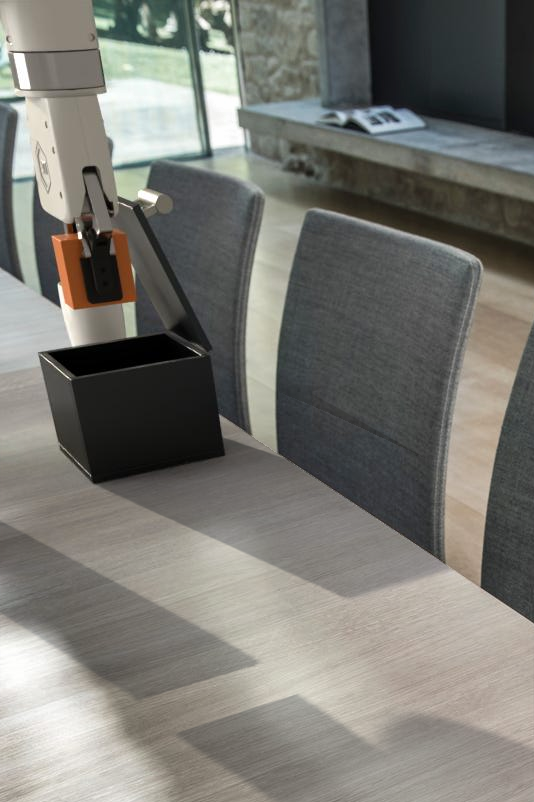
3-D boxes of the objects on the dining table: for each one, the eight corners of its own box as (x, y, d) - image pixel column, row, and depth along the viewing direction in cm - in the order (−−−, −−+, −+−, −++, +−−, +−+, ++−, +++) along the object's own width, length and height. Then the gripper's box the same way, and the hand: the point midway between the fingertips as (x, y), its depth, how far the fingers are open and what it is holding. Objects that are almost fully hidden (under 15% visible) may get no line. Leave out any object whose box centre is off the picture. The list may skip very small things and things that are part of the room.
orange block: (73, 310, 106) (60, 241, 103) (65, 303, 109) (51, 235, 105) (137, 301, 109) (126, 233, 106) (127, 294, 111) (116, 228, 108)
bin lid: (131, 207, 109) (174, 184, 111) (93, 192, 119) (133, 170, 120) (206, 352, 120) (245, 330, 121) (165, 328, 129) (201, 307, 130)
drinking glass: (111, 398, 144) (86, 273, 136) (152, 405, 141) (129, 277, 133) (71, 414, 139) (43, 285, 131) (114, 421, 136) (88, 290, 128)
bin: (93, 483, 119) (70, 379, 114) (60, 450, 128) (37, 352, 123) (225, 455, 126) (210, 355, 120) (185, 424, 135) (169, 330, 129)
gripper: (-8, 72, 103) (38, 286, 113) (37, 83, 91) (83, 321, 101) (77, 68, 106) (114, 277, 116) (130, 78, 94) (166, 309, 104)
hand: (99, 295), depth 108 cm, fingers closed on orange block, 3 cm apart
